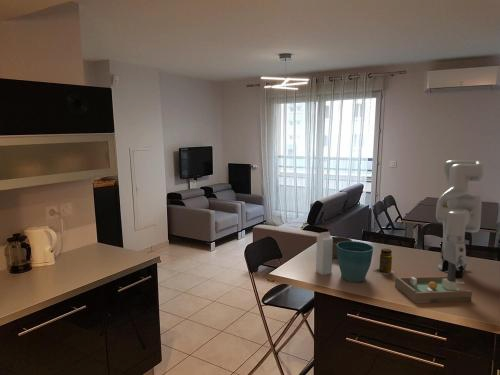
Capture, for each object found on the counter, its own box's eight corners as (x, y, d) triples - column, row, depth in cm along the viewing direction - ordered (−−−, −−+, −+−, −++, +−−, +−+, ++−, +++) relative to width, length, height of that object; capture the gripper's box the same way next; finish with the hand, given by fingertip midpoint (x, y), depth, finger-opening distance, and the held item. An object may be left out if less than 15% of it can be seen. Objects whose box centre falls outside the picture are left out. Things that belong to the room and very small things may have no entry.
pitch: (445, 284, 177) (446, 275, 177) (471, 300, 159) (472, 290, 159) (394, 286, 175) (395, 276, 174) (414, 303, 157) (415, 292, 156)
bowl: (318, 256, 219) (319, 240, 218) (330, 249, 233) (330, 234, 232) (346, 262, 209) (347, 245, 208) (356, 254, 224) (357, 238, 222)
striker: (459, 285, 171) (461, 259, 169) (466, 289, 166) (469, 263, 164) (441, 286, 170) (443, 260, 168) (448, 290, 165) (450, 263, 163)
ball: (433, 287, 169) (434, 280, 168) (438, 290, 165) (439, 283, 165) (426, 287, 169) (427, 280, 168) (431, 290, 165) (431, 283, 165)
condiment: (394, 272, 194) (395, 250, 193) (384, 275, 190) (386, 253, 188) (383, 268, 200) (384, 247, 199) (373, 271, 196) (374, 249, 194)
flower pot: (379, 282, 179) (381, 249, 177) (347, 286, 174) (349, 252, 172) (358, 270, 196) (360, 239, 194) (329, 273, 191) (330, 242, 189)
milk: (331, 273, 192) (333, 233, 189) (322, 275, 189) (323, 234, 186) (324, 269, 197) (326, 230, 194) (315, 271, 195) (317, 231, 192)
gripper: (476, 243, 156) (472, 281, 159) (450, 233, 174) (447, 267, 176) (459, 243, 156) (456, 281, 158) (435, 233, 173) (433, 268, 175)
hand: (451, 274), depth 167 cm, fingers open, 9 cm apart
